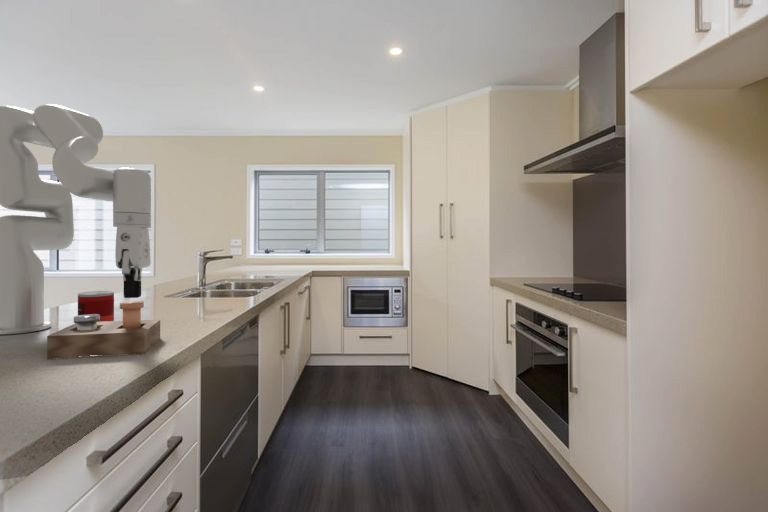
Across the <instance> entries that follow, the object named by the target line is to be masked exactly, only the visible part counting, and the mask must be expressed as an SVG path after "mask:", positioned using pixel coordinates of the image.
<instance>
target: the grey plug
mask: <svg viewBox="0 0 768 512" xmlns="http://www.w3.org/2000/svg"><path fill="white" fill-rule="evenodd" d="M97 321H100V315H98V314H87V315H79V316H78V315H75V316H73V324H75V323H77V330H96V329H97Z"/></svg>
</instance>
